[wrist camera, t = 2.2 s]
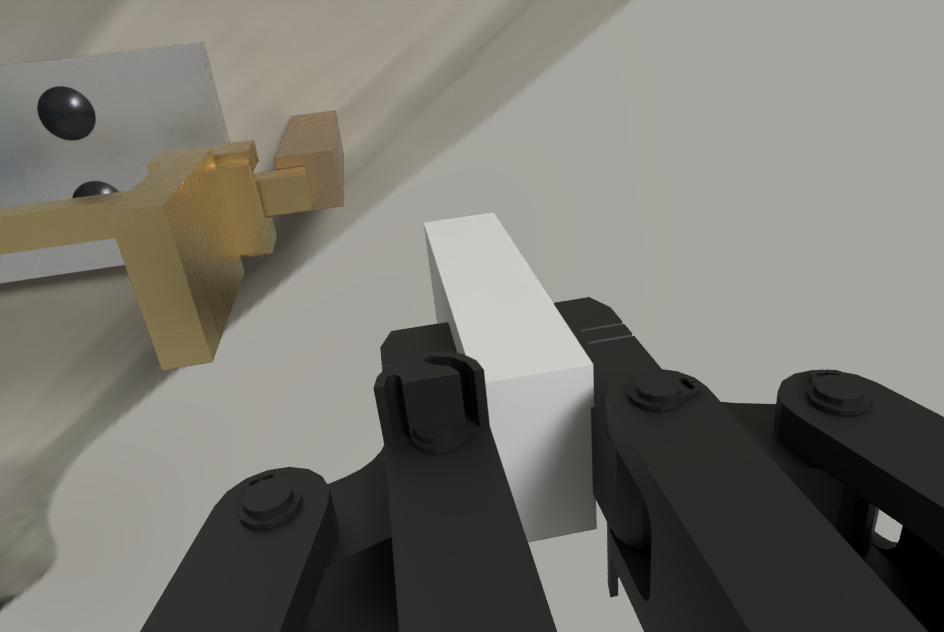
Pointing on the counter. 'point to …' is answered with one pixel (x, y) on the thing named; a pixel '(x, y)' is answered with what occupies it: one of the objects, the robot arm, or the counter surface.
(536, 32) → the counter surface
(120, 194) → the beam
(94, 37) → the counter surface
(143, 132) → the flange plate
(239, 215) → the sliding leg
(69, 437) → the counter surface
